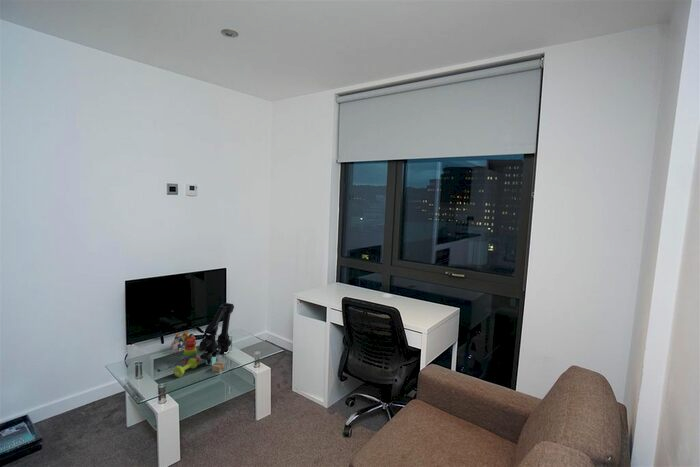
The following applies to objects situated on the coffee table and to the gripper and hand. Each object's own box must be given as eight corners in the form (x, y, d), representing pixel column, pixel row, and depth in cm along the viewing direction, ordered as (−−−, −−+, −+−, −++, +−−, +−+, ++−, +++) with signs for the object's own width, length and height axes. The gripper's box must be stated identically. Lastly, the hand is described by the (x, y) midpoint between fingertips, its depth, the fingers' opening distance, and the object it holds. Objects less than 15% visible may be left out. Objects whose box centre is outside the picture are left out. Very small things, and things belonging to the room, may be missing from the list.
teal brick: (209, 361, 265) (209, 356, 264) (215, 362, 264) (215, 357, 264) (205, 364, 260) (206, 359, 260) (212, 365, 259) (212, 360, 259)
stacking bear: (192, 365, 258) (192, 342, 255) (179, 363, 260) (179, 340, 257) (201, 358, 268) (201, 336, 266) (189, 356, 270) (189, 334, 268)
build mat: (215, 366, 259) (215, 365, 259) (228, 368, 258) (228, 367, 258) (207, 373, 250) (207, 372, 250) (220, 375, 248) (220, 374, 248)
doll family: (172, 355, 270) (172, 339, 269) (164, 351, 275) (164, 335, 273) (196, 345, 289) (196, 330, 287) (188, 342, 293) (189, 327, 292)
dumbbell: (190, 365, 258) (190, 356, 257) (199, 368, 256) (199, 358, 255) (172, 376, 243) (172, 366, 242) (181, 379, 240) (181, 369, 239)
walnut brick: (216, 367, 257) (216, 361, 256) (224, 368, 256) (224, 362, 255) (211, 371, 251) (212, 365, 251) (219, 372, 250) (219, 366, 250)
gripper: (208, 335, 270) (208, 355, 273) (193, 346, 252) (193, 366, 254) (221, 338, 269) (221, 357, 271) (207, 348, 250) (207, 369, 252)
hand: (210, 362), depth 262 cm, fingers closed on teal brick, 5 cm apart
